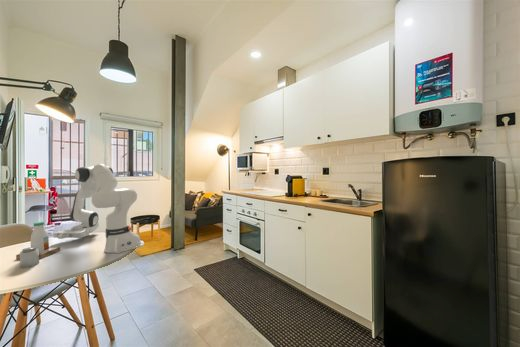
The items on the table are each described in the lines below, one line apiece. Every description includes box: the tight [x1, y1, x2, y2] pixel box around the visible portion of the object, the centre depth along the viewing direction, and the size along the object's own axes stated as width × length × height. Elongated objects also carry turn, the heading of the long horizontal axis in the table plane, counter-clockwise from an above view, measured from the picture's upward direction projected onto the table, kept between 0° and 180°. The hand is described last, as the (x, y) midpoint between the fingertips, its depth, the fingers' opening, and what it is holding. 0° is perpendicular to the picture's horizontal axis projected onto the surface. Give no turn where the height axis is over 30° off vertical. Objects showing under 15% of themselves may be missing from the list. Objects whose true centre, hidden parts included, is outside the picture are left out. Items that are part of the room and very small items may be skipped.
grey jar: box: [19, 246, 40, 269], centre depth 117 cm, size 7×7×9 cm
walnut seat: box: [15, 246, 61, 260], centre depth 130 cm, size 12×14×2 cm
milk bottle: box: [30, 221, 50, 254], centre depth 131 cm, size 8×8×20 cm
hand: (59, 237), depth 144 cm, fingers closed
